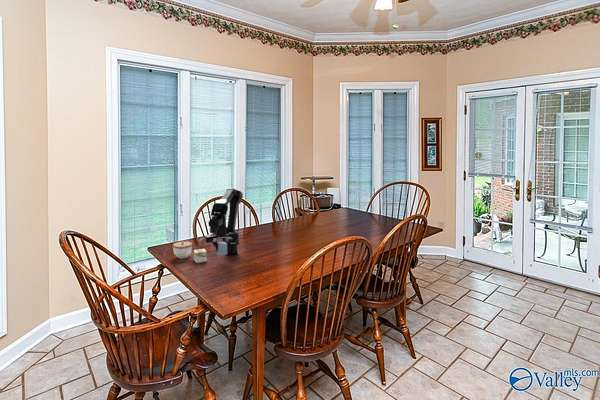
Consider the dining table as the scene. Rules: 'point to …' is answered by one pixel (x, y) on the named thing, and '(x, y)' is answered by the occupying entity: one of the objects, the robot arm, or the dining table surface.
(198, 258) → the slab bottom
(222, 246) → the blue block
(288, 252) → the dining table surface
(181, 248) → the lidded jar
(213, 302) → the dining table surface
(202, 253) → the slab top
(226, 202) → the robot arm
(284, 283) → the dining table surface
